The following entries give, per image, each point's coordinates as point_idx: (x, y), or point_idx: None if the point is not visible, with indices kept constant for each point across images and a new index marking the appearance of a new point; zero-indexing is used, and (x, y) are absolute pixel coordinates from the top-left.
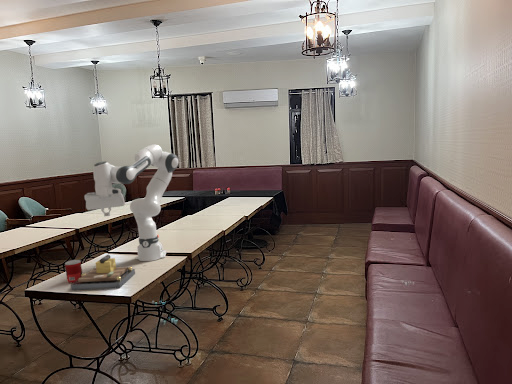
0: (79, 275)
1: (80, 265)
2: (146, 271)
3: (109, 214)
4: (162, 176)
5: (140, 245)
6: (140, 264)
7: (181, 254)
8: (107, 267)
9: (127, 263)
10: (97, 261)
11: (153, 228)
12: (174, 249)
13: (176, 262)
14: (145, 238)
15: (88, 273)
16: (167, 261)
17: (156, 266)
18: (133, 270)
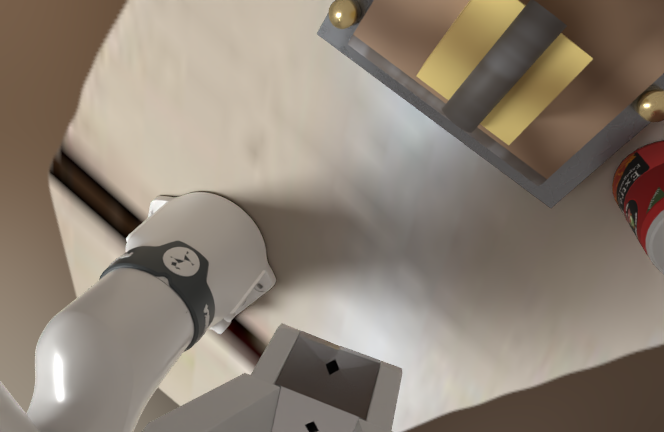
0: (656, 157)
1: (654, 198)
2: (262, 27)
3: (274, 339)
4: None
5: (215, 289)
6: (271, 184)
7: (83, 184)
8: None
9: (324, 251)
10: (564, 82)
11: (65, 308)
12: None
13: (106, 70)
14: (158, 282)
15: (625, 85)
16: (147, 125)
17: (203, 81)
18: (328, 13)
